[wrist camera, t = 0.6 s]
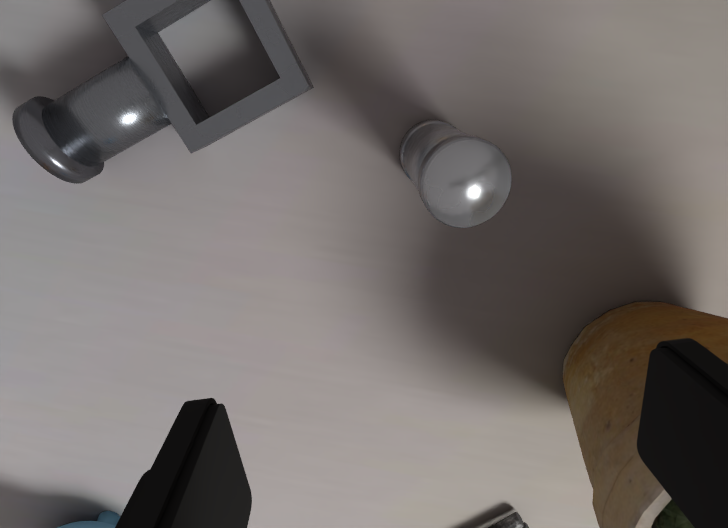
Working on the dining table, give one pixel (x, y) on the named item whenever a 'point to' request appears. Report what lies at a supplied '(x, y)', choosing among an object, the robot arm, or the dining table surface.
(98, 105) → the grey framed piece
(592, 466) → the potted plant
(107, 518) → the teapot
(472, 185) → the silver capped cylinder
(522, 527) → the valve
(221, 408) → the robot arm
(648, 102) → the dining table surface
